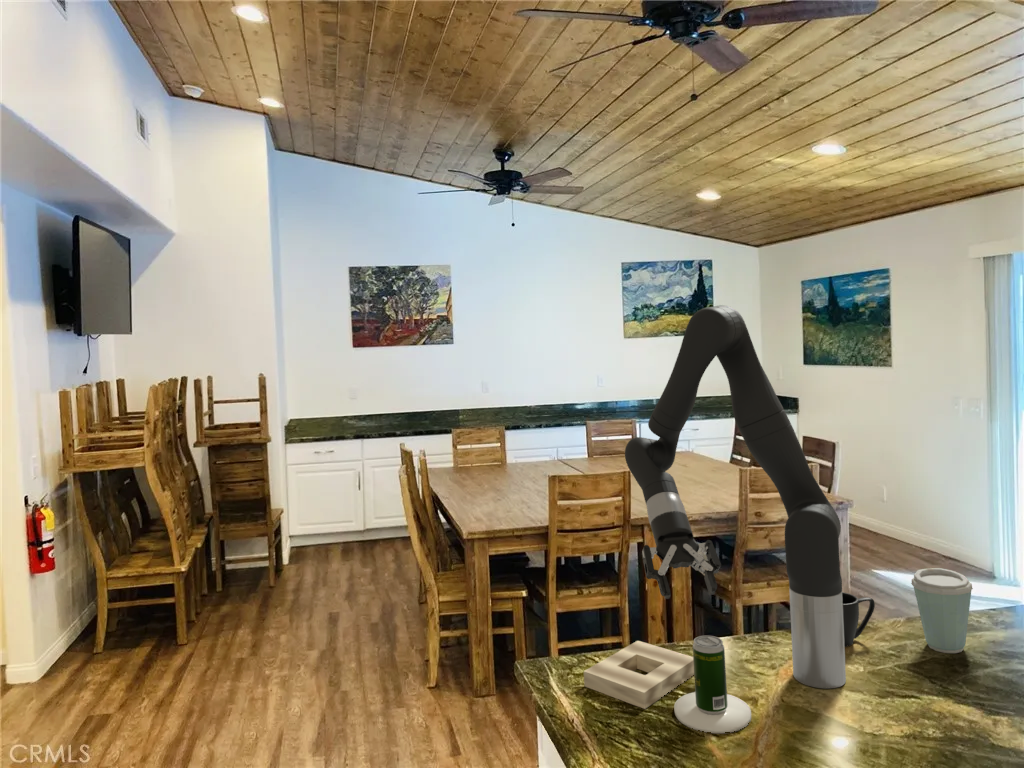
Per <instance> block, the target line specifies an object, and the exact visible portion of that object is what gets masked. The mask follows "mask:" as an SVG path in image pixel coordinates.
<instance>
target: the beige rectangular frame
mask: <svg viewBox="0 0 1024 768" xmlns="http://www.w3.org/2000/svg"><path fill="white" fill-rule="evenodd" d="M636 670H640V671H642V672H645V673H647V674H642V673H641V672H636ZM693 675H694V662H693V655H692V656H691V655H688V654H684V653H680V652H678V651H674V650H672V649H667V648H664V647H661V646H657V645H654V644H651V643H648V642H644V641H641V640H635V642H633V643H631V644H629V645H627V646H625V647H624V648H622V649H621V650H618V651H617V652H615V653H614V654H612V655H610V656H608V657H606V658H604V659H603V660H601V661H599V662H597V663H596V664H594V665H592V666H590V667H589V668H587V669H585V670H583V682H584V683H583V684H584V685H583V687H585V688H588V689H590V690H594V691H596V692H599V693H601V694H604V695H606V696H609V697H612V698H615V699H617V700H620V701H623V702H626V703H628V704H630V705H633V706H636V707H638V708H642V709H644V710H646V709H647V708H648V707H650V706H651V705H653V704H655V703H656V702H657V701H659V700H660V699H662V698H663V697H664V695H665V696H667V693H668V692H669V693H670V692H672V691H674V690H675V689H676V688H678V687H679V686H681V685H682V684H684V683H685V682H686V681H688V680H689V679H691V678H692V677H693ZM691 676H692V677H691ZM690 677H691V678H690ZM687 679H688V680H687ZM684 681H685V682H684ZM680 684H681V685H680ZM678 685H679V686H678ZM677 686H678V687H677ZM674 688H675V689H674ZM671 690H672V691H671ZM669 693H668V694H669ZM661 697H662V698H661Z"/></svg>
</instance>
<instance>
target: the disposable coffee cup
mask: <svg viewBox="0 0 1024 768" xmlns="http://www.w3.org/2000/svg"><path fill="white" fill-rule="evenodd" d="M910 584H911V585H912V587H913V590H914V595H915V600H916V602H917V607H918V611H919V615H920V622H921V626H922V629H923V635H924V638H925V642H926V643H927V646H928V647H929V649H931V650H933V651H936V652H938V653H939V652H940V653H944V654H958V653H962V651H963V650H964V648H965V646H966V641H967V633H968V625H969V615H970V607H971V606H970V604H971V598H972V597H971V596H972V590H973V589H974V588H973V584H972V582H971V581H970V580H969V579H968V578H967V577H966V576H965V575H964V574H962V573H959V572H957V571H955V570H951V569H946V568H942V567H933V568H932V567H929V568H922V569H917V570H916V572H915V573H914V574H913V577H912V579H911V583H910Z"/></svg>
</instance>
